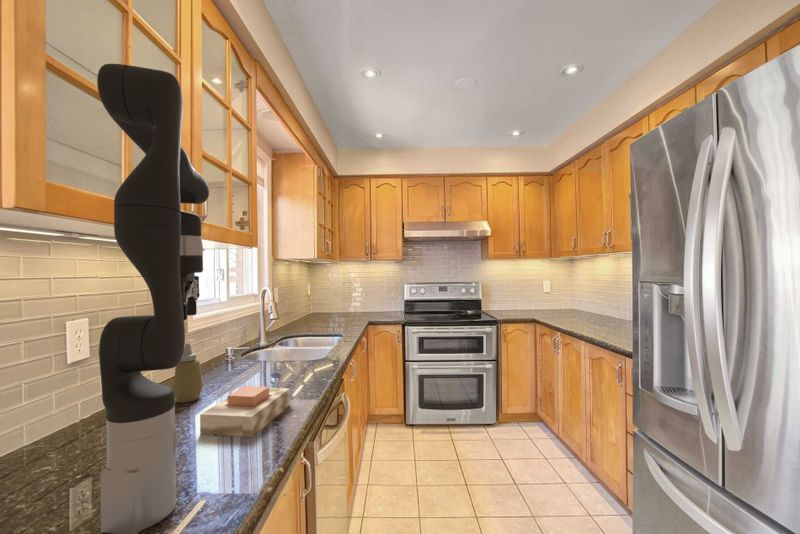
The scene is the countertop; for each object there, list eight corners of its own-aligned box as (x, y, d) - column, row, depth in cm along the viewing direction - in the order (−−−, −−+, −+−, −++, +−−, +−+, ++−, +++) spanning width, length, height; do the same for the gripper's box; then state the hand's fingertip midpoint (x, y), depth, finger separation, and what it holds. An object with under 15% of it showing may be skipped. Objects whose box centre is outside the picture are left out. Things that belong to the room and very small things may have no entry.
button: (254, 411, 90) (253, 396, 90) (227, 410, 92) (227, 395, 92) (269, 400, 98) (268, 386, 98) (244, 399, 99) (244, 386, 99)
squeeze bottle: (189, 405, 105) (188, 346, 105) (166, 403, 106) (166, 345, 107) (208, 395, 113) (208, 341, 113) (187, 394, 114) (187, 340, 115)
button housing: (252, 437, 84) (251, 416, 84) (200, 434, 86) (200, 414, 86) (289, 405, 104) (289, 388, 104) (247, 403, 106) (246, 387, 106)
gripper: (194, 253, 82) (195, 321, 82) (209, 254, 95) (209, 312, 95) (158, 253, 79) (159, 323, 80) (178, 254, 93) (179, 314, 93)
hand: (186, 317), depth 88 cm, fingers open, 8 cm apart
